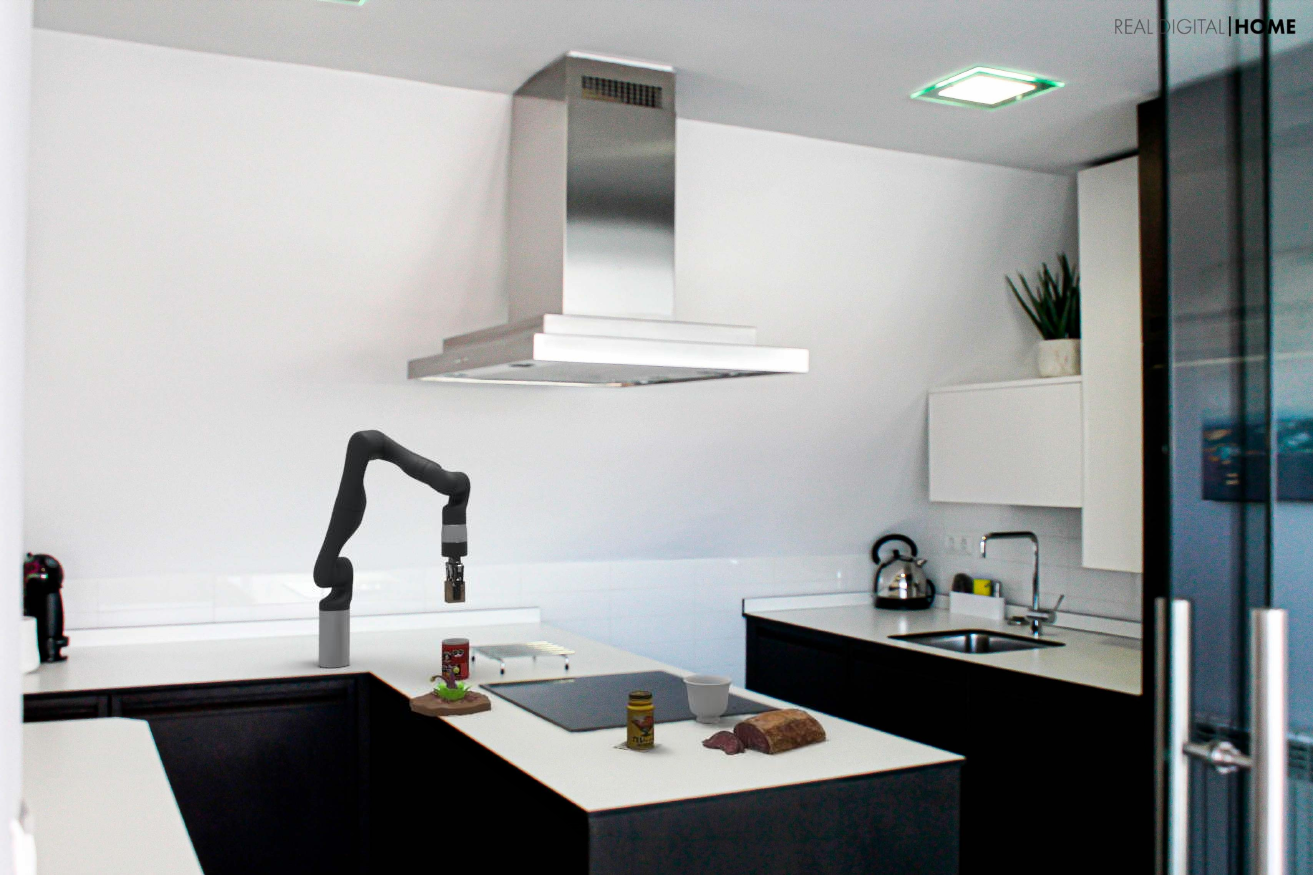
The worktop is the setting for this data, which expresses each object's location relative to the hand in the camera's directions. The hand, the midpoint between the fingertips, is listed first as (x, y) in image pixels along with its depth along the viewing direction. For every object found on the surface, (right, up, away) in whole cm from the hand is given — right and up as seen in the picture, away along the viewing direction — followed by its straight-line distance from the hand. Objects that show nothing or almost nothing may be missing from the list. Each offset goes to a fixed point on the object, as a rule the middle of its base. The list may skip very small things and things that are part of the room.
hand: (454, 598), depth 320 cm
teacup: (+71, -22, -51) cm, 90 cm away
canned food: (0, -23, 0) cm, 23 cm away
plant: (+6, -23, -38) cm, 45 cm away
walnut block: (0, -1, 0) cm, 1 cm away
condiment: (+54, -22, -76) cm, 96 cm away
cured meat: (+82, -22, -73) cm, 112 cm away
